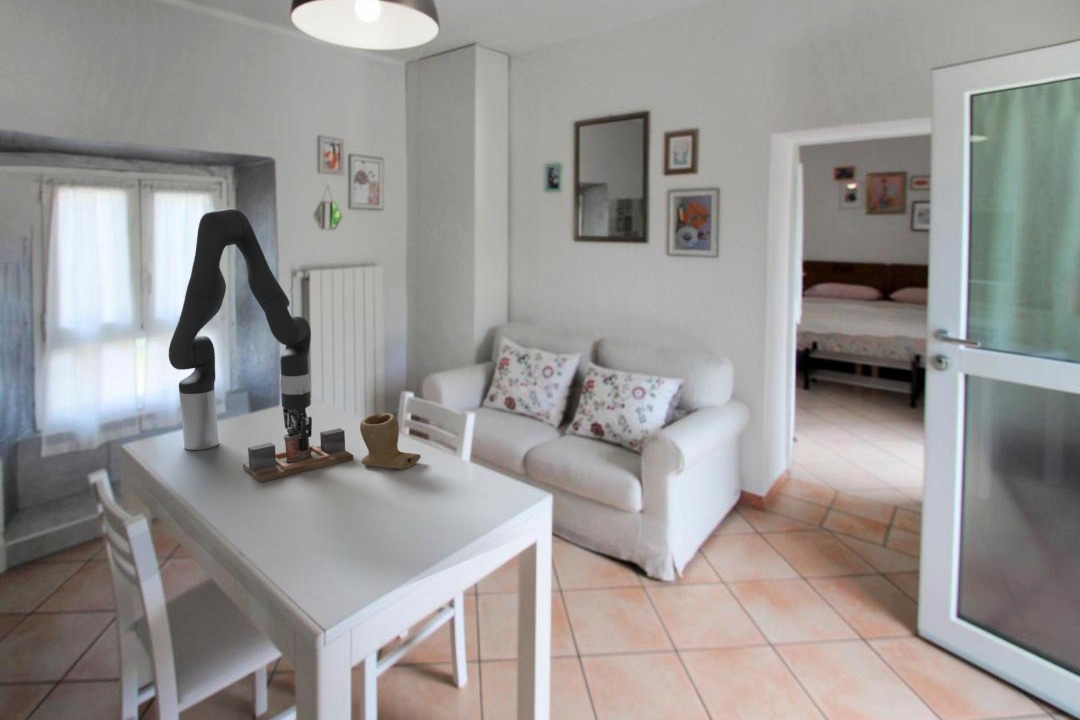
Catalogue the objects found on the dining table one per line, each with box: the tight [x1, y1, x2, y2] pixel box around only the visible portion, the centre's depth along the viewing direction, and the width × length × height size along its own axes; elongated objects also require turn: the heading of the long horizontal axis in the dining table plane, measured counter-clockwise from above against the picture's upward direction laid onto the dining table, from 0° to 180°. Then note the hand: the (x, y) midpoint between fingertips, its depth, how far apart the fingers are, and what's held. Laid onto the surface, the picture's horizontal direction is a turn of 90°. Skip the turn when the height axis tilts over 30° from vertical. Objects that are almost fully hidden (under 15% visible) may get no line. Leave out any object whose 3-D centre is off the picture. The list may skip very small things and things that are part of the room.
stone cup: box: [359, 412, 422, 470], centre depth 173 cm, size 15×12×15 cm
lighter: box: [283, 424, 311, 463], centre depth 173 cm, size 8×3×10 cm, turn 157°
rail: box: [242, 428, 354, 484], centre depth 174 cm, size 13×26×8 cm, turn 134°
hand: (298, 447), depth 174 cm, fingers open, 6 cm apart
